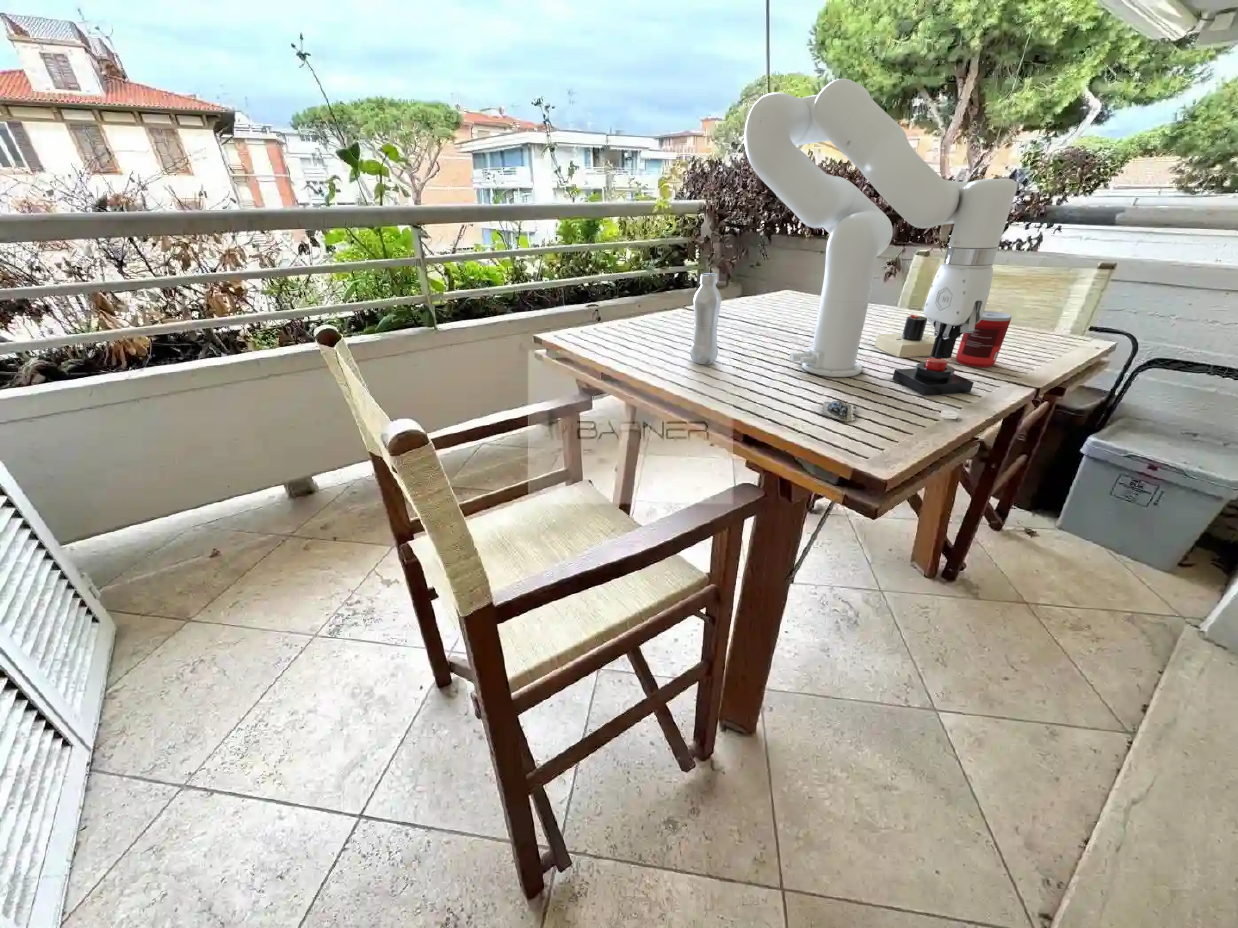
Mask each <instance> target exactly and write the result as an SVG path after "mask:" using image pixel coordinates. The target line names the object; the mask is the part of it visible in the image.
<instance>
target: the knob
mask: <svg viewBox="0 0 1238 928" xmlns="http://www.w3.org/2000/svg"><path fill="white" fill-rule="evenodd" d="M927 323H928V318H927V317H925V316H920V315H919V316H918V315H915V314H910V315H909V316H906V320H905V324H904V327H903V330H902V333H901V334H902V338H903V339H905V340H911V341H919V340H922V337H923V334H925V330H926V326H927Z"/></svg>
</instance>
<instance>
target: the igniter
mask: <svg viewBox="0 0 1238 928" xmlns="http://www.w3.org/2000/svg"><path fill="white" fill-rule="evenodd" d="M926 362H927V361H925V362H919V363H917V364H916V365H915V368H900V369H897V368H896V369H894V372H893V375H892V380H893V381H895V382H896V383H899V384H900V385H902V386H904V387H906V388H908V389H910V390H912V391H913V392H916V393H918V394H919V395H921V396H923V397H926V396H928V397H929V396H941V395H942V396H943V395H955V394H969V393H971V392H972V389H973V386H974V383H975V382H974V381H972V380H969V379H967V378H965V377H963V376H960V375H958V374H956V373H955V370H956V369H955V368H954V367H953V366H951V365H948V364H947V366H946V370H932V369H928V368H925V365H926Z"/></svg>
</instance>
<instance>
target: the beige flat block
mask: <svg viewBox="0 0 1238 928" xmlns="http://www.w3.org/2000/svg"><path fill="white" fill-rule="evenodd" d="M902 334H903V333H888V334H877V335H876V338H875V343H874V348H876V349H878V350H881V351H883V352H885V353H887V354H889V355H891V356H894V357H897V358H912V357H928V356H930V357H931V352H932V349H933V345H934V342H935V338H936V337H935V336H931V335H929V334H926V333H924V334H923V337H922V340H919V341H911V340H905V339H903V338H902Z"/></svg>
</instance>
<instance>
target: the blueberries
mask: <svg viewBox="0 0 1238 928" xmlns="http://www.w3.org/2000/svg"><path fill="white" fill-rule="evenodd" d="M821 412H822V413H823V415H824V416H825V417H829V418H833V419H836V420H839V421H840V422H841V421H842V422H845V423H849V422H853V421H855V420H856V418H855V417H856V415H854V414H856V412H857V406H855V405H853V404H850V403H847V402H844V401H841V400H833V401H831V402H830V401H826V400H825V401H823V403H822V407H821Z"/></svg>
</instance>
